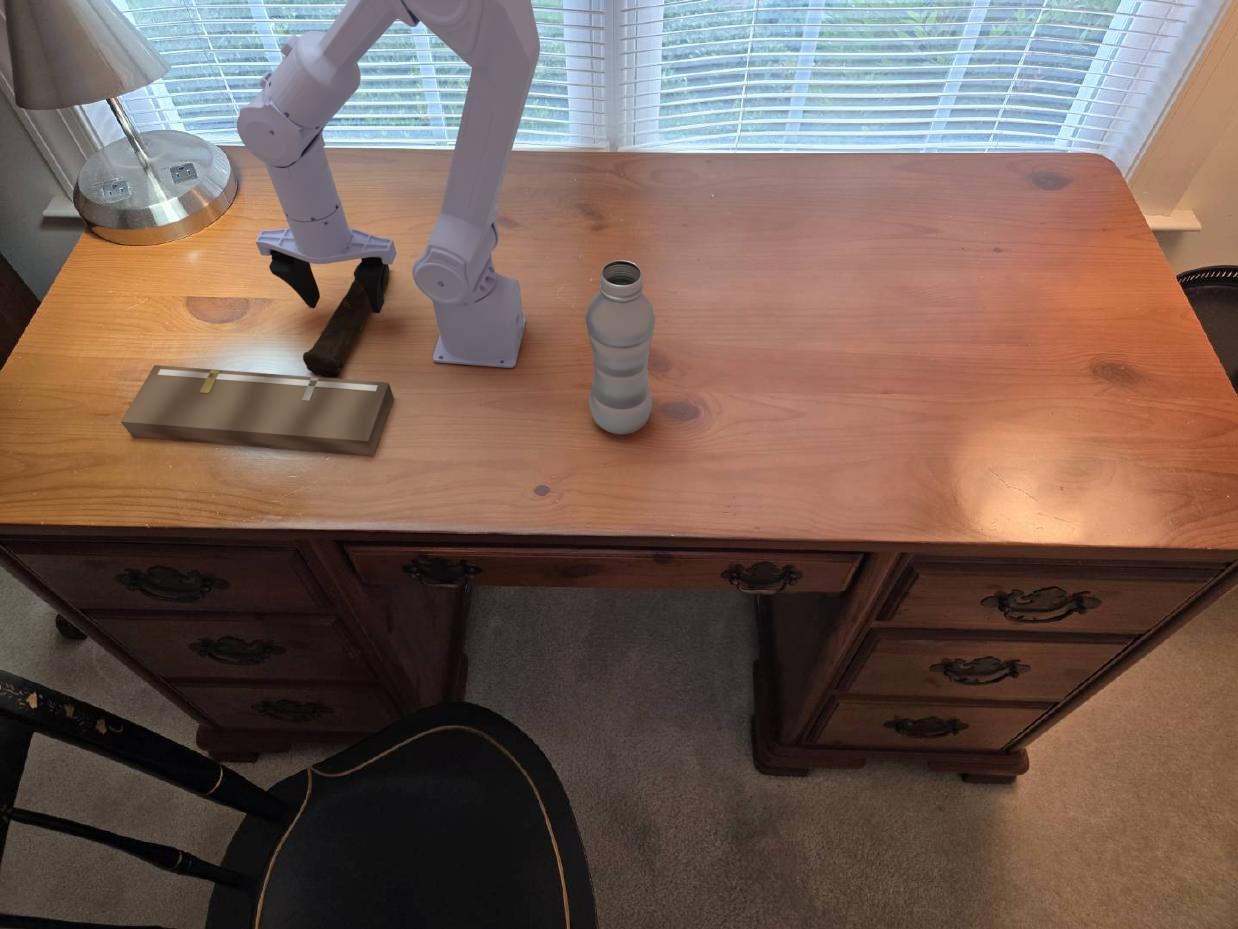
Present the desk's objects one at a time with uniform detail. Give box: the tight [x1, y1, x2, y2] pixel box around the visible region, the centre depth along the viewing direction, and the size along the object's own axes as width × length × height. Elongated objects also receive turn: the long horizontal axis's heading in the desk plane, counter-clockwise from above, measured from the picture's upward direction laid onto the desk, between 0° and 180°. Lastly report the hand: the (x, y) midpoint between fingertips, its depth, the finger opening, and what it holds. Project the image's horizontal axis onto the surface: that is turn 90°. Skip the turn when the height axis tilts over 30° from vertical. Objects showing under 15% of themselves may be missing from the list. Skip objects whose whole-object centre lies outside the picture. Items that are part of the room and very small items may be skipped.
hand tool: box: [302, 262, 390, 379], centre depth 92 cm, size 19×4×5 cm, turn 165°
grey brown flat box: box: [120, 364, 395, 457], centre depth 84 cm, size 26×8×3 cm, turn 85°
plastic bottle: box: [585, 259, 656, 436], centre depth 77 cm, size 6×7×20 cm
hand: (346, 304), depth 92 cm, fingers open, 7 cm apart
